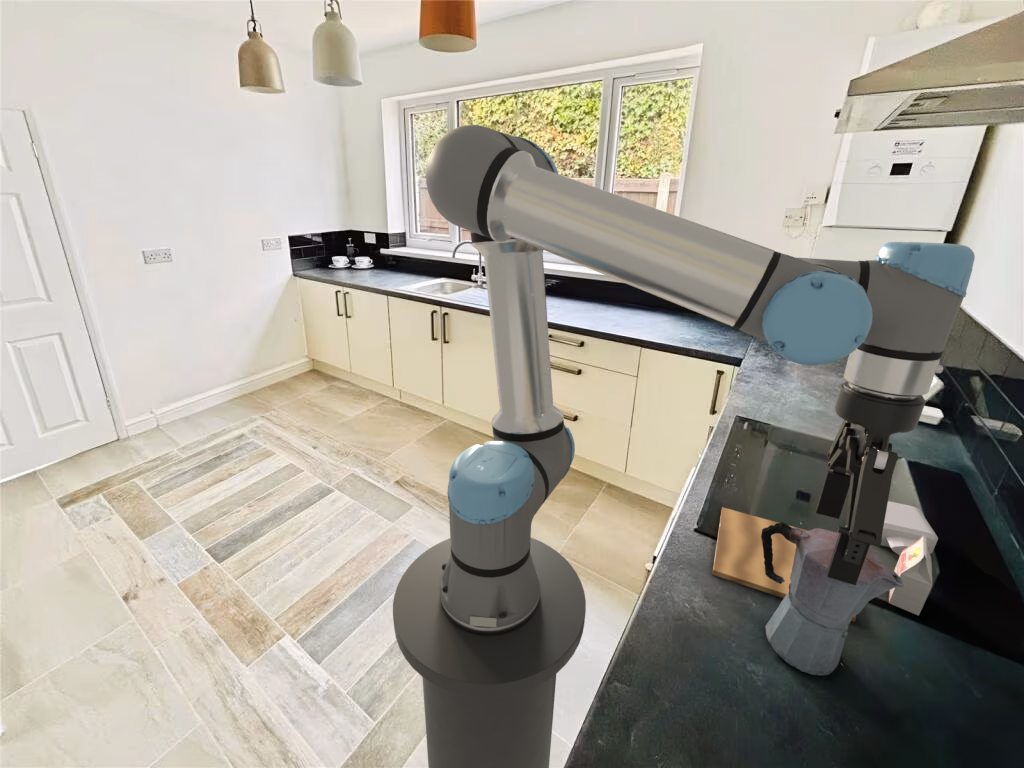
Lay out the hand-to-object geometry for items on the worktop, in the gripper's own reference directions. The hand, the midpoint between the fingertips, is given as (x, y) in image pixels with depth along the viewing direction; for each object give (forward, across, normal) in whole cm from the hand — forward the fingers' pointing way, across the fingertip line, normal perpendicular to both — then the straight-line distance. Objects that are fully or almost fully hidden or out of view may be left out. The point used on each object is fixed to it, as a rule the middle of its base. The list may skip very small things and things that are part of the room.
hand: (833, 544), depth 58 cm
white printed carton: (+18, +19, -16) cm, 31 cm away
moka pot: (+18, 0, 0) cm, 18 cm away
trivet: (+18, +19, +2) cm, 26 cm away
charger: (+18, +34, -18) cm, 42 cm away
